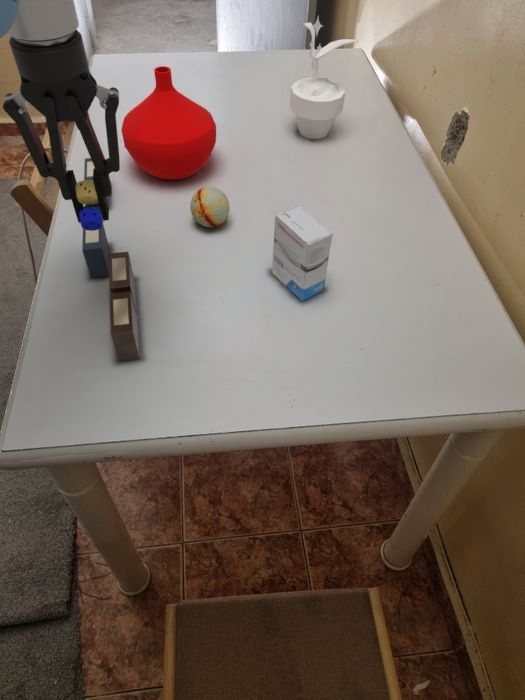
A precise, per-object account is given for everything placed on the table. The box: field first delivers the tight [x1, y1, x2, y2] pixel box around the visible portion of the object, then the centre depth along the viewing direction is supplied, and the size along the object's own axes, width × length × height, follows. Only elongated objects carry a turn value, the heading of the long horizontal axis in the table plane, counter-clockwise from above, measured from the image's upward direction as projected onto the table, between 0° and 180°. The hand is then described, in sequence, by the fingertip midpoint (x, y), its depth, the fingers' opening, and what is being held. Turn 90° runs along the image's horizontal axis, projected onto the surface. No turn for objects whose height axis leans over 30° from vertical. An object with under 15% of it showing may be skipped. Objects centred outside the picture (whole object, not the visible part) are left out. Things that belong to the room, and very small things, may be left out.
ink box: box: [271, 205, 334, 302], centre depth 82 cm, size 8×5×12 cm, turn 34°
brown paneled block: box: [108, 251, 141, 363], centre depth 77 cm, size 3×17×6 cm, turn 11°
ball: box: [189, 186, 231, 228], centre depth 93 cm, size 7×7×7 cm
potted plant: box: [289, 14, 359, 140], centre depth 108 cm, size 13×12×25 cm
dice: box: [75, 179, 105, 231], centre depth 72 cm, size 8×3×6 cm, turn 11°
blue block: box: [81, 157, 110, 279], centre depth 91 cm, size 3×27×6 cm, turn 11°
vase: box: [121, 65, 217, 181], centre depth 100 cm, size 18×18×19 cm
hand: (93, 215), depth 73 cm, fingers closed on dice, 3 cm apart
